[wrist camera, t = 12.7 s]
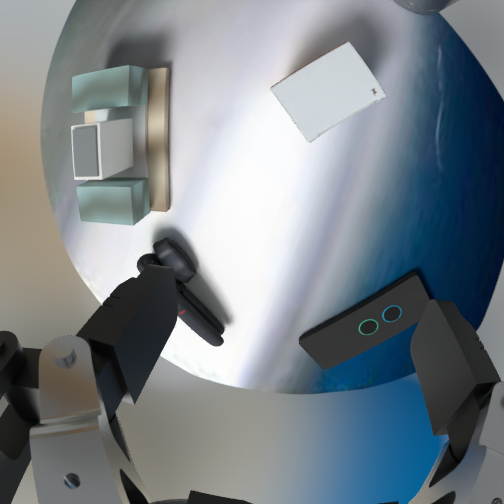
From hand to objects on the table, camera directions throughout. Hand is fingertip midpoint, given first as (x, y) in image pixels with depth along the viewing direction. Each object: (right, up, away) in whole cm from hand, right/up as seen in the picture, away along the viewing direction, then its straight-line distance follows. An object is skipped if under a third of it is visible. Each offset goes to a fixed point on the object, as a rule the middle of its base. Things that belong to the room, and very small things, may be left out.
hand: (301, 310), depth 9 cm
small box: (+6, +19, +21) cm, 29 cm away
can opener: (-10, -4, +35) cm, 37 cm away
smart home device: (+16, -9, +34) cm, 38 cm away
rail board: (-18, +16, +26) cm, 35 cm away
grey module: (-18, +15, +24) cm, 34 cm away
